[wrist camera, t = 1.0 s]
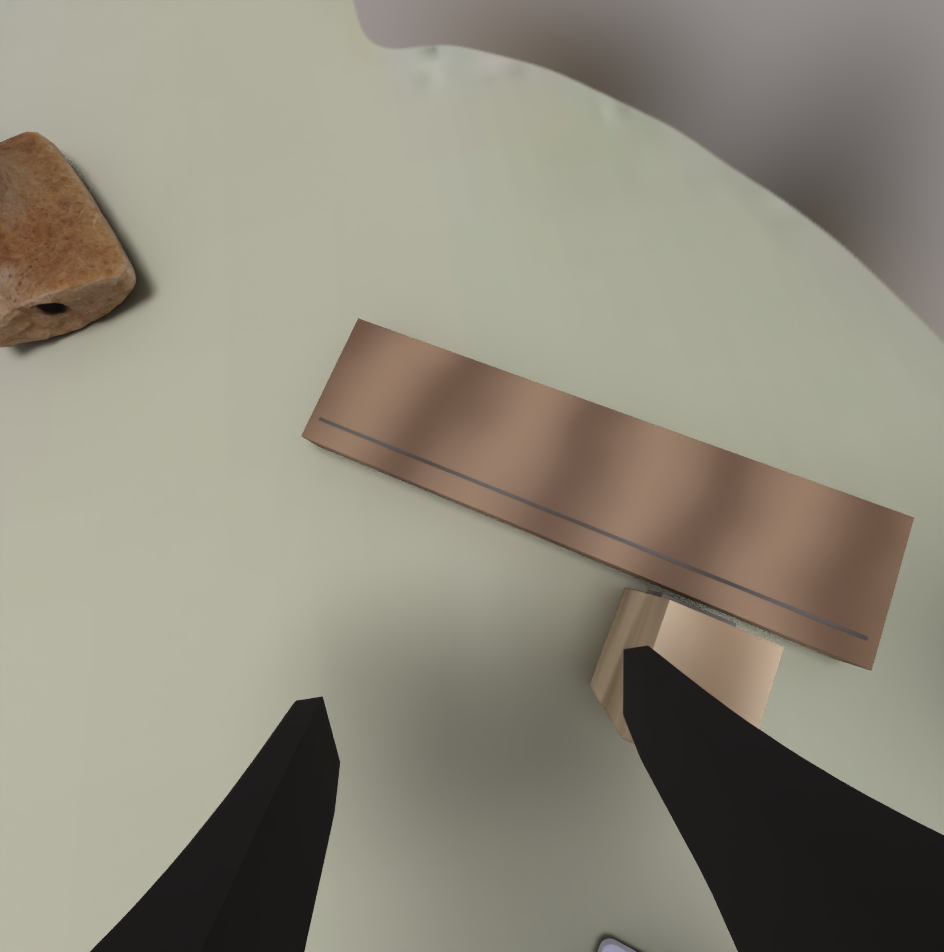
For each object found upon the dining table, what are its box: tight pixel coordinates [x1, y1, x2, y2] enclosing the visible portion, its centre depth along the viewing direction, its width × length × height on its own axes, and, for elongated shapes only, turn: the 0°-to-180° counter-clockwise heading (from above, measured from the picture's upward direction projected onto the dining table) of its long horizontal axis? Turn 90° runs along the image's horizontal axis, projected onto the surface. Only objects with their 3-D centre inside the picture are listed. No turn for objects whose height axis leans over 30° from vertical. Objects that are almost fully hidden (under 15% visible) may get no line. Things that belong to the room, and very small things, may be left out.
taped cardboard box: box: [590, 588, 784, 744], centre depth 19 cm, size 4×5×6 cm
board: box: [302, 319, 914, 670], centre depth 22 cm, size 28×7×2 cm, turn 67°
